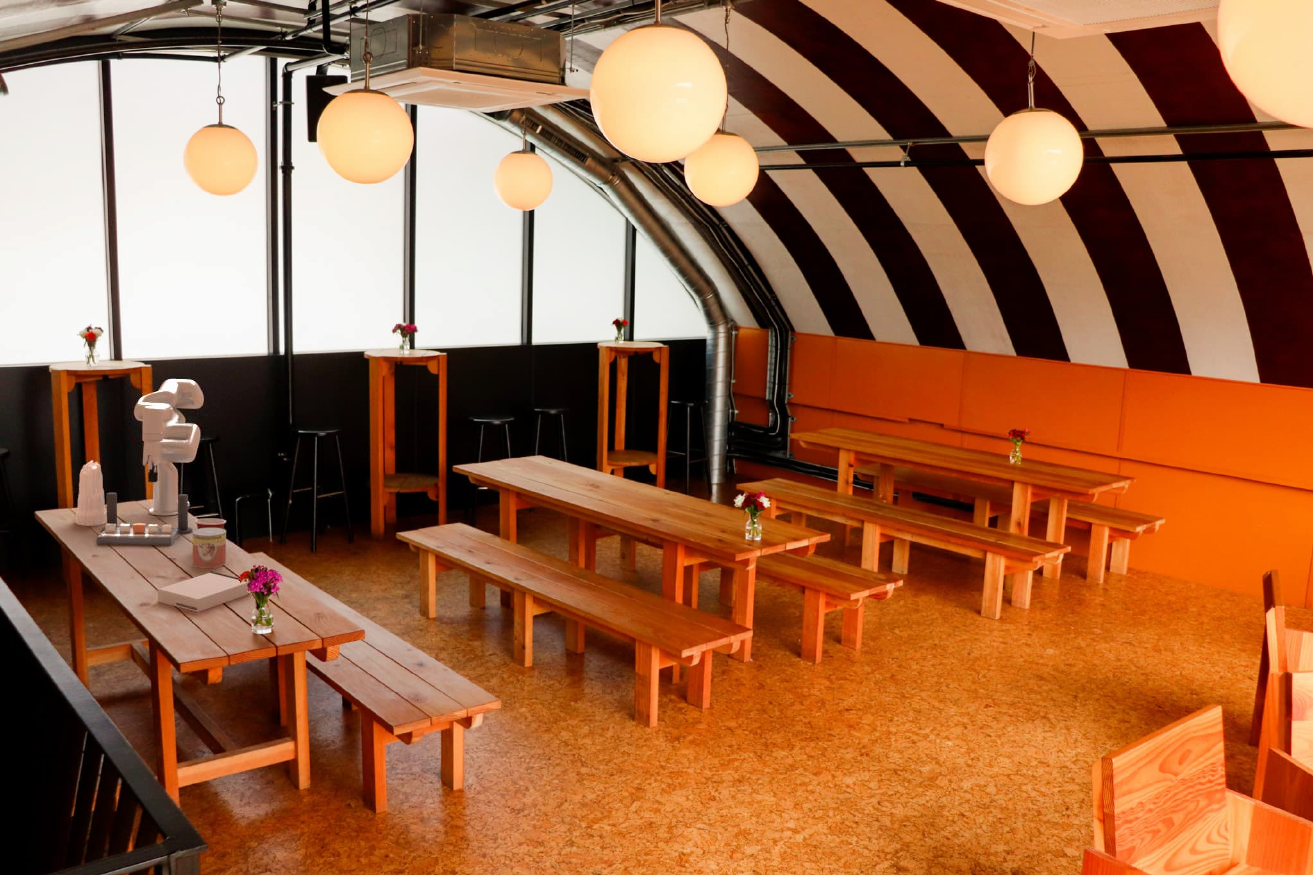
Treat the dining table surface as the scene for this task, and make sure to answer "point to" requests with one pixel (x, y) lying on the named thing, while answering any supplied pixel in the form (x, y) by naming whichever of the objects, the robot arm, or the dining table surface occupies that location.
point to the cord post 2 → (183, 514)
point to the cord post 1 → (111, 509)
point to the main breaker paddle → (139, 527)
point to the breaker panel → (138, 535)
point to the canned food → (209, 547)
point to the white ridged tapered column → (91, 496)
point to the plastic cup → (210, 523)
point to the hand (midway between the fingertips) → (152, 481)
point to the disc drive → (203, 591)
